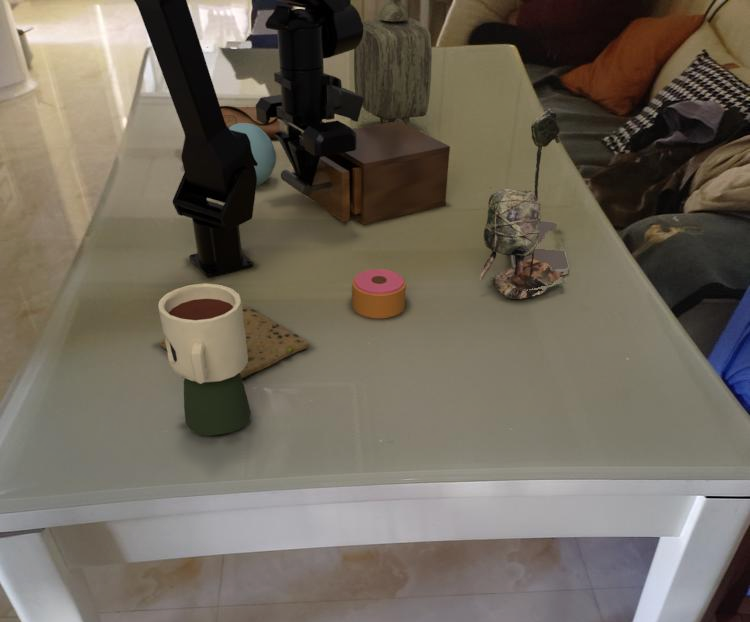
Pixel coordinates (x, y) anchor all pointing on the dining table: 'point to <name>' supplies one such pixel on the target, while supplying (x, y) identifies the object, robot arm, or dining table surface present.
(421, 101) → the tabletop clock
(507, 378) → the dining table surface
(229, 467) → the dining table surface
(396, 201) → the cabinet
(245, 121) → the sunglasses case
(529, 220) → the plant with pod
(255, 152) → the light blue ball
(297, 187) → the drawer
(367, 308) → the donut
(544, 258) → the smartphone
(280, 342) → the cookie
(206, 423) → the character mug
